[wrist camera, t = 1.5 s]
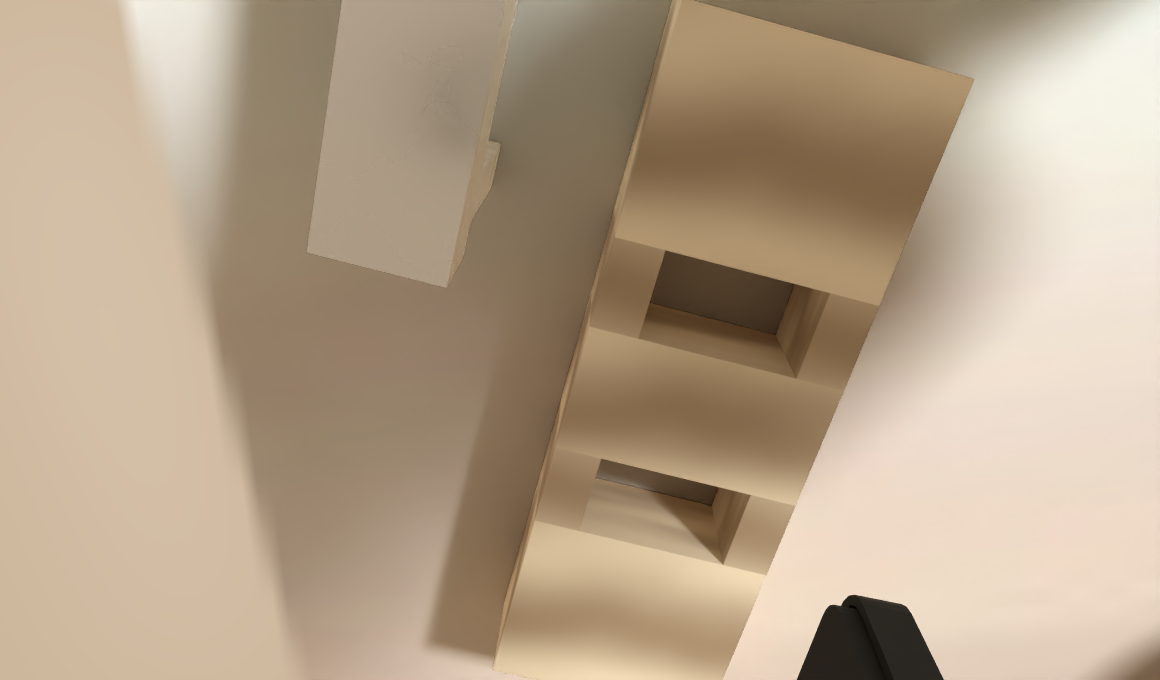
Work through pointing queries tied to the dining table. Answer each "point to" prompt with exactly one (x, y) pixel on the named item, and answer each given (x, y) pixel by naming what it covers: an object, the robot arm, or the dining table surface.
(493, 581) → the dining table surface
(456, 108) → the grey arched block
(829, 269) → the rail
